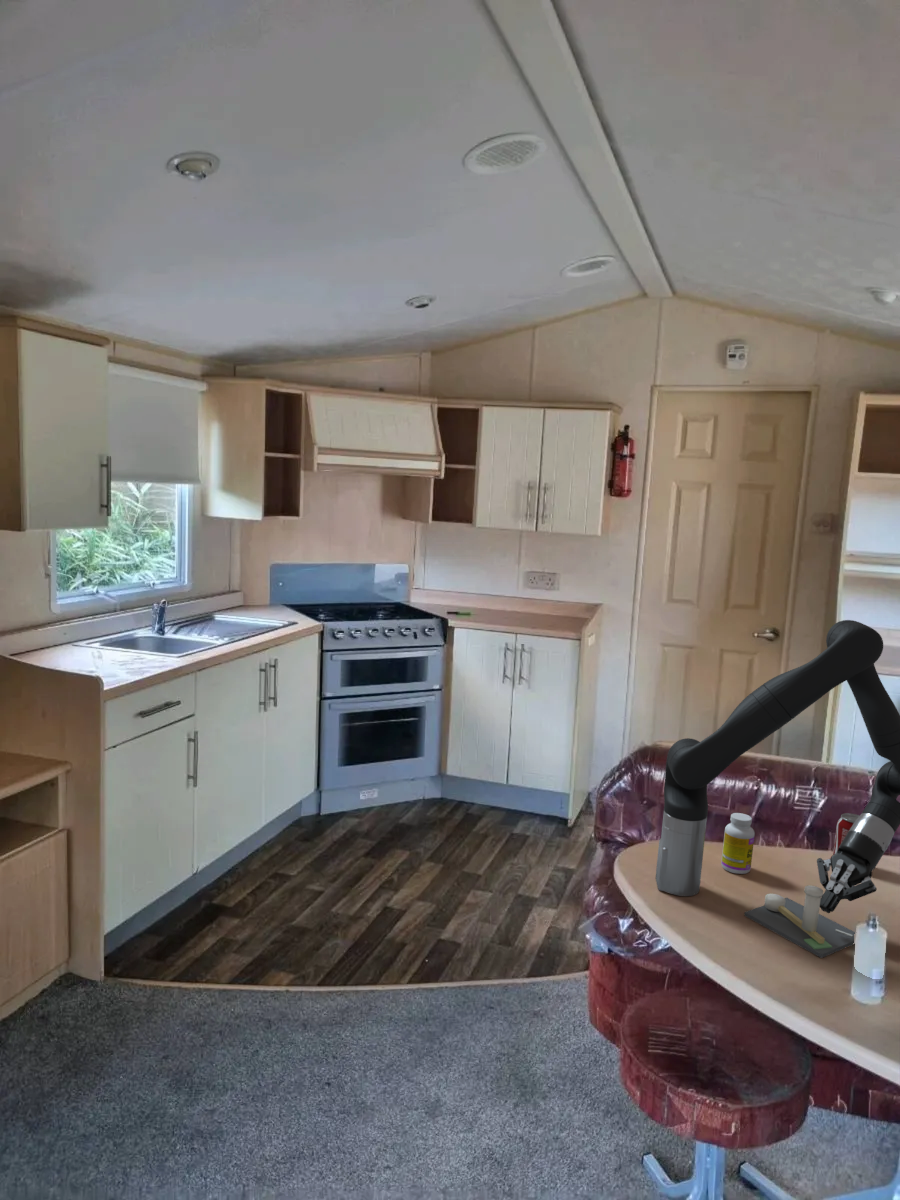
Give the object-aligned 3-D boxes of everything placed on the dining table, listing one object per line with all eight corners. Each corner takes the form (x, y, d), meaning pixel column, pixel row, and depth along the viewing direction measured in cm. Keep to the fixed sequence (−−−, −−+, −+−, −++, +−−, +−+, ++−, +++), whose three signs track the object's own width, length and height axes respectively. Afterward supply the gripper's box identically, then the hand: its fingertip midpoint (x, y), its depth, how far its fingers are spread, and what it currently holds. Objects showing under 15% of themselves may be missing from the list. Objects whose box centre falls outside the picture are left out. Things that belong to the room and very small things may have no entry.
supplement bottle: (748, 877, 199) (754, 824, 198) (718, 870, 202) (724, 818, 200) (751, 866, 205) (757, 815, 204) (723, 859, 208) (728, 809, 206)
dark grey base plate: (821, 958, 167) (822, 952, 167) (744, 915, 182) (744, 910, 181) (863, 940, 174) (864, 935, 174) (786, 900, 189) (786, 896, 189)
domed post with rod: (760, 903, 185) (765, 861, 184) (776, 901, 186) (781, 859, 185) (813, 945, 169) (818, 900, 167) (830, 944, 170) (836, 898, 168)
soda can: (865, 873, 206) (872, 825, 204) (835, 868, 207) (841, 821, 205) (858, 861, 212) (864, 814, 210) (829, 857, 213) (835, 810, 212)
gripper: (831, 819, 183) (788, 886, 178) (891, 843, 172) (847, 915, 167) (843, 838, 187) (802, 904, 182) (903, 863, 176) (860, 934, 171)
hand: (824, 909), depth 175 cm, fingers closed
